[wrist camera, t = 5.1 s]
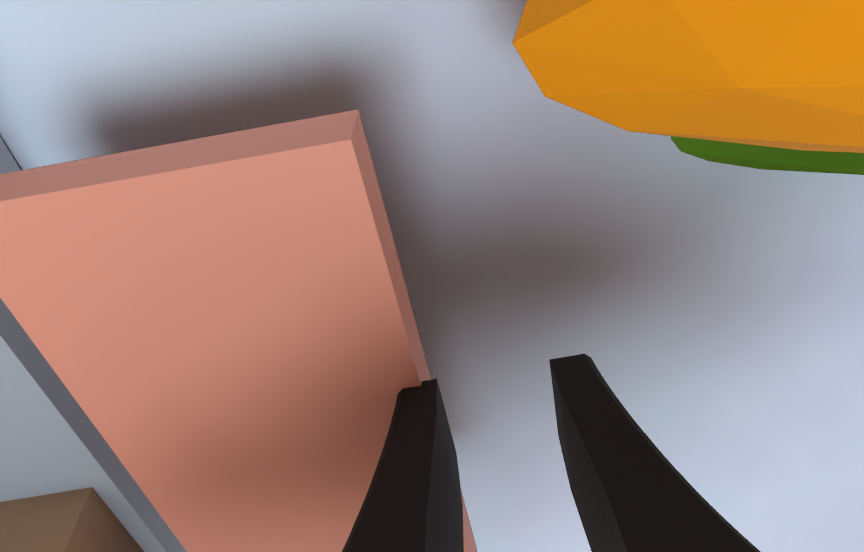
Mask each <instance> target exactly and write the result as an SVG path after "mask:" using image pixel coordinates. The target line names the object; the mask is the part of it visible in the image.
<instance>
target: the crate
mask: <svg viewBox="0 0 864 552" xmlns="http://www.w3.org/2000/svg"><path fill="white" fill-rule="evenodd" d="M0 552H144V551H143V550H142V548H141V547H140V546H139V545H138V543H137V542H136V541H135V540H134V538H133V537H132V536H131V535H130V533H129V532H128V531H127V530H126V528H125V527H124V526H123V525H122V523H121V522H120V521H119V520H118V518H117V517H116V516H115V515H114V513H113V512H112V511H111V510H110V508H109V507H108V506H107V505H106V503H105V502H104V501H103V500H102V498H101V497H100V496H99V495H98V493H97V492H96V491H95V490H94V488H93V487H89V488H83V489H77V490H71V491H65V492H59V493H53V494H47V495H40V496H34V497H28V498H22V499H16V500H10V501H4V502H0Z"/></svg>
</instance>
